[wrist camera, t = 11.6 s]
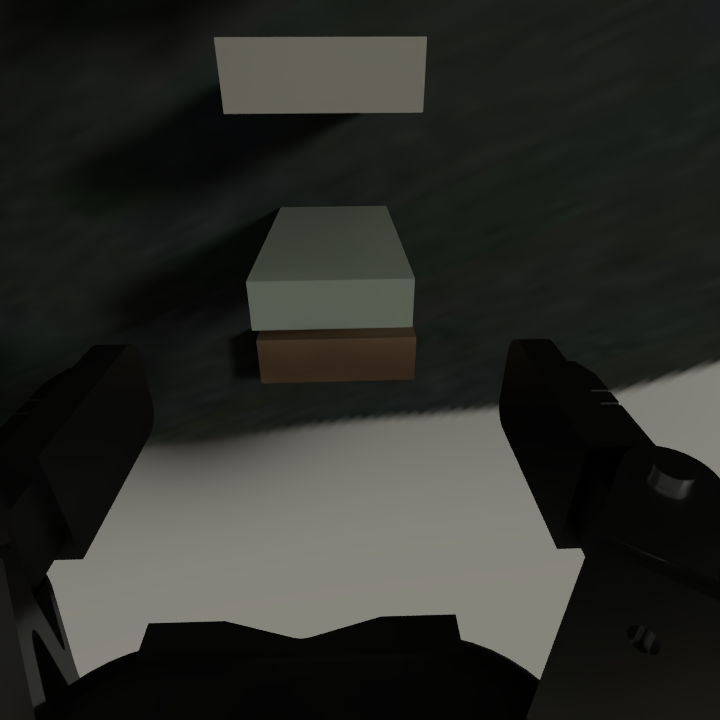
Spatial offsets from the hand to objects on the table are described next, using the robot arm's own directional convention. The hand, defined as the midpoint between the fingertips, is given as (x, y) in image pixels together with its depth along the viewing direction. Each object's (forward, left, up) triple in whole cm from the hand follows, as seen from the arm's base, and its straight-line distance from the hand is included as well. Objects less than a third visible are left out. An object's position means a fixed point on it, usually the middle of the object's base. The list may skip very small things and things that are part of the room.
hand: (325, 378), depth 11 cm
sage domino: (0, 0, -15) cm, 15 cm away
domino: (-6, 0, -15) cm, 16 cm away
